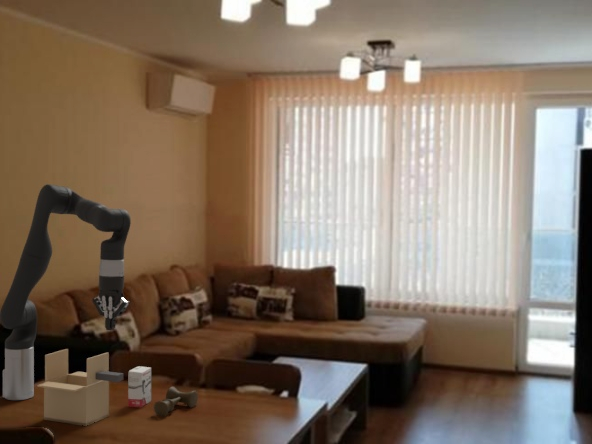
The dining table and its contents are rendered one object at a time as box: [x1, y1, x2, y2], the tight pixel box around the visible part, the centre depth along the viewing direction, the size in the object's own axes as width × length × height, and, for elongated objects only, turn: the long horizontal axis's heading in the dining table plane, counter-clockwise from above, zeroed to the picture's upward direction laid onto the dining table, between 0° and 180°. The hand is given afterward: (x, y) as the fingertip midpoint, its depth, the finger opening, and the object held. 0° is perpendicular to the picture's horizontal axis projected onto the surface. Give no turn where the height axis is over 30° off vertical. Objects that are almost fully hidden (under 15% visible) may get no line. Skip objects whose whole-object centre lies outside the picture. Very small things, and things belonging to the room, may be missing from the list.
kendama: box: [153, 386, 199, 417], centre depth 239 cm, size 6×10×20 cm
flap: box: [86, 352, 124, 385], centre depth 222 cm, size 8×10×9 cm
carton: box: [36, 348, 110, 427], centre depth 227 cm, size 16×19×20 cm
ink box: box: [127, 365, 152, 408], centre depth 243 cm, size 9×5×12 cm, turn 168°
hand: (110, 329), depth 224 cm, fingers closed
